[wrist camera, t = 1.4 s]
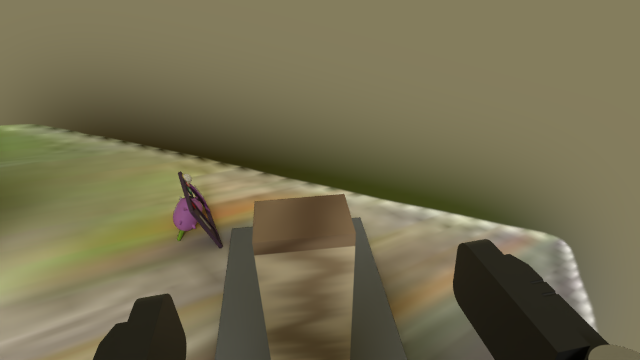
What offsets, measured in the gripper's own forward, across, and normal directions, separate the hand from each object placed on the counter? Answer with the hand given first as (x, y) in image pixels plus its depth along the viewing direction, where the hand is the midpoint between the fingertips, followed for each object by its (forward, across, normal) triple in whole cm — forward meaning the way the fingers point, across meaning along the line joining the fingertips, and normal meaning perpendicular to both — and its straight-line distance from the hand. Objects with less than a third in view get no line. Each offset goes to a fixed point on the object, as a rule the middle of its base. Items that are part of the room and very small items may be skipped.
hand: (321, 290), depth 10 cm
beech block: (+13, 0, +20) cm, 24 cm away
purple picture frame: (+32, +12, +19) cm, 39 cm away
